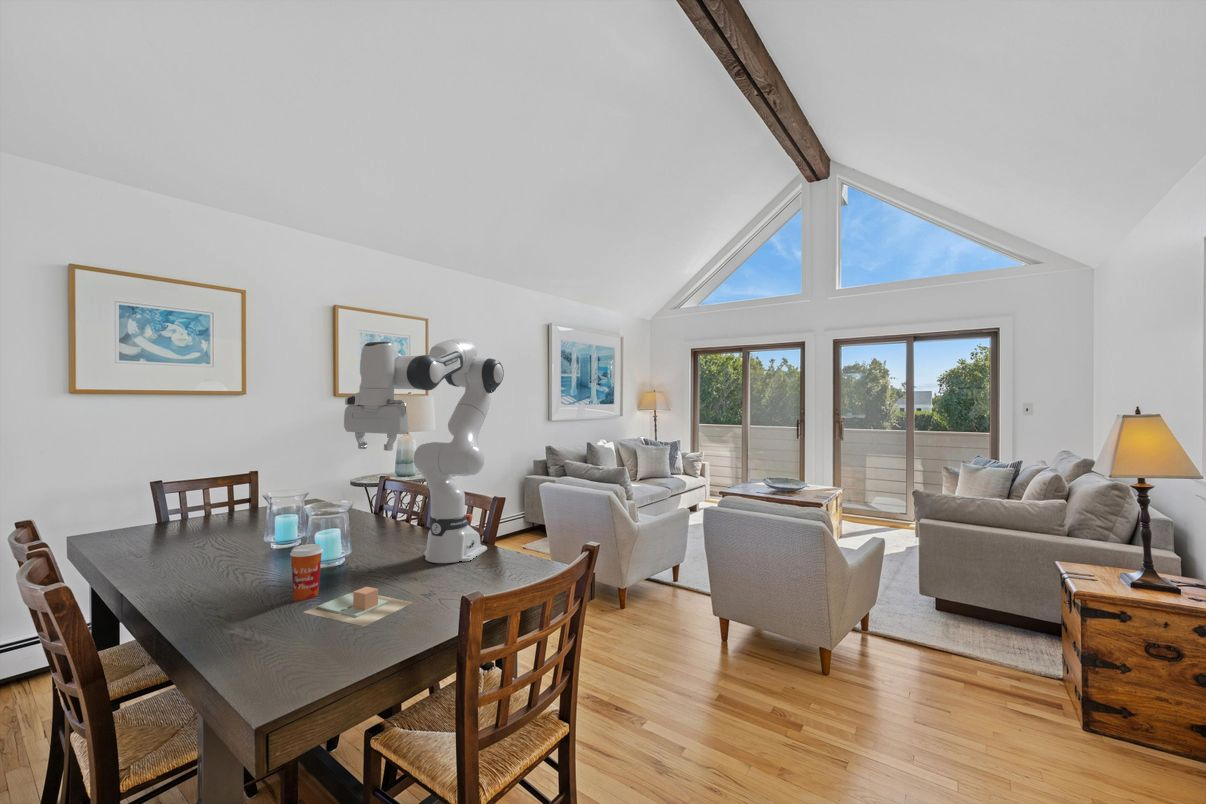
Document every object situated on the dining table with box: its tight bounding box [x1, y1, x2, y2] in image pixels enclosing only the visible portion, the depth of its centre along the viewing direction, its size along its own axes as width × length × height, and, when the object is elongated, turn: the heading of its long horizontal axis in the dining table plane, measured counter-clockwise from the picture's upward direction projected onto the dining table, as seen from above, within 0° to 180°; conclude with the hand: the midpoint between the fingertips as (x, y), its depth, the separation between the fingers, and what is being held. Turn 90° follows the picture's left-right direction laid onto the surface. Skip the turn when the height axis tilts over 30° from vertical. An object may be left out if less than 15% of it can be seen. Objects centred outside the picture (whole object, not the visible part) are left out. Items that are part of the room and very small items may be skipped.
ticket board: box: [303, 591, 414, 627], centre depth 133 cm, size 16×20×2 cm
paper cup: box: [289, 543, 324, 602], centre depth 140 cm, size 8×8×14 cm
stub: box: [342, 586, 388, 617], centre depth 132 cm, size 10×5×4 cm, turn 157°
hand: (375, 449), depth 145 cm, fingers open, 8 cm apart
